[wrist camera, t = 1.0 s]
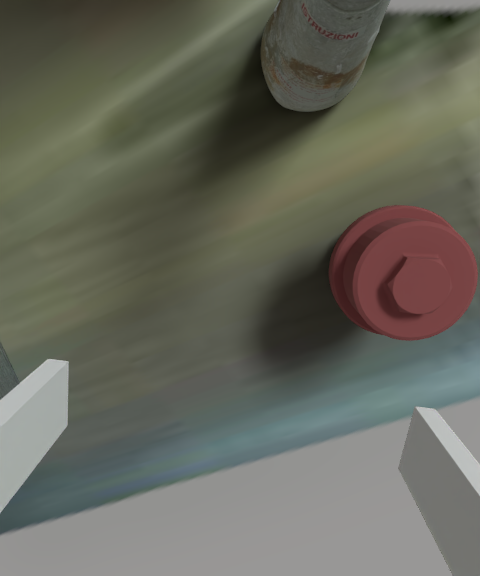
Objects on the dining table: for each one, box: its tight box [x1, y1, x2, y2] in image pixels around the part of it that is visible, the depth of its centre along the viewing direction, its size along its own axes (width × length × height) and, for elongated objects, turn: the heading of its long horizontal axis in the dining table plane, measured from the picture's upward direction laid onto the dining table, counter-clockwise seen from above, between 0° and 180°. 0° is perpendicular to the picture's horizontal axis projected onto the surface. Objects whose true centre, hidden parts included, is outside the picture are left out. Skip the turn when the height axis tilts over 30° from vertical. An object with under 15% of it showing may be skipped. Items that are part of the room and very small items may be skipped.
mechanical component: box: [329, 205, 478, 340], centre depth 32 cm, size 12×10×10 cm
